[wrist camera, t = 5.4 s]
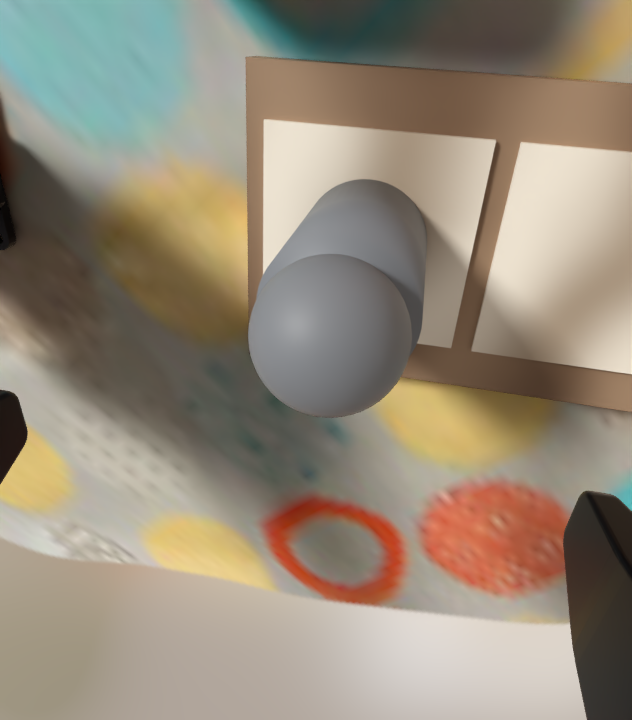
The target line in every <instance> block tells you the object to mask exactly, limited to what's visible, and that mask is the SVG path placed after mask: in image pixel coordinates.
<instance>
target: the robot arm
mask: <svg viewBox="0 0 632 720" xmlns="http://www.w3.org/2000/svg"><path fill="white" fill-rule="evenodd" d="M0 234H1V235H2V238H3V240H2V239H1V238H0V250H5V249H7V248H9V247H11V246H13V245H14V244H15V242H16V236H15V232H14V228H13V224H12V220H11V216H10V212H9V207H8V203H7V199H6V195H5V191H4V187H3V183H2V179H1V175H0ZM27 432H28V431H27V427H26V423H25V420H24V416H23V413H22V409H21V406H20V402H19V399H18V397H17V396H16V395H15V394H14V393H12V392H10V391H5V390H0V484H1V483H2V481H3V479H4V478H5V476H6V474H7V473H8V471H9V470H10V468H11V466H12V465H13V463H14V461H15V460H16V458H17V457H18V455H19V453H20V452H21V450H22V449H23V447H24V445H25V443H26V440H27ZM563 547H564V559H565V570H566V581H567V593H568V604H569V615H570V627H571V635H572V645H573V651H574V657H575V663H576V668H577V673H578V677H579V683H580V688H581V692H582V697H583V702H584V707H585V712H586V717H587V720H632V511H631V510H630V509H629V508H628V507H627V506H626V505H625V504H624V503H623V502H622V501H621V500H619V499H618V498H617V497H616V496H614V495H611V494H605V493H600V492H594V491H585V492H583V493H582V494H581V495H580V497H579V498H578V501H577V503H576V505H575V508H574V510H573V512H572V514H571V517H570V519H569V521H568V524H567V526H566V528H565V532H564V538H563Z"/></svg>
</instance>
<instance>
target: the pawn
mask: <svg viewBox="0 0 632 720" xmlns="http://www.w3.org/2000/svg"><path fill="white" fill-rule="evenodd" d="M426 256H427V231H426V226H425V223H424V219H423V217H422V215H421V213H420V211H419V209H418V208H417V206H416V205H415V203H414V202H413V201H412V200H411V199H410V198H409V197H408V196H407V195H406V194H405V193H404V192H402V191H401V190H399V189H398V188H396V187H394V186H392V185H390V184H388V183H385V182H382V181H378V180H372V179H359V180H352V181H348V182H344V183H342V184H339V185H337V186H335V187H334V188H332V189H330V190H329V191H328V192H326V193H325V194H324V195H323V196H322V197H321V198H320V199H319V200H318V201H317V202H316V204H315V205H314V206H313V208H312V209H311V210H310V212H309V213H308V214H307V216H306V217H305V218H304V220H303V221H302V222H301V224H300V225H299V226H298V228H297V229H296V230H295V232H294V233H293V234H292V235H291V237H290V238H289V239H288V241H287V242H286V243H285V245H284V246H283V247H282V249H281V250H280V251H279V253H278V254H277V255H276V257H275V258H274V259H273V261H272V262H271V263H270V265H269V266H268V267H267V269H266V271H265V272H264V274H263V276H262V278H261V281H260V284H259V287H258V291H257V297H256V302H255V304H254V307H253V310H252V313H251V317H250V322H249V329H248V341H249V351H250V355H251V359H252V362H253V364H254V367H255V370H256V372H257V374H258V376H259V377H260V379H261V380H262V382H263V383H264V385H265V386H266V387H267V388H268V390H269V391H270V392H271V393H272V394H273V395H274V396H275V397H276V398H277V399H279V400H280V401H281V402H283V403H284V404H285V405H287V406H289V407H291V408H292V409H294V410H297V411H299V412H301V413H305V414H308V415H312V416H316V417H325V418H334V417H343V416H348V415H352V414H355V413H358V412H361V411H363V410H365V409H367V408H369V407H371V406H373V405H374V404H376V403H377V402H379V401H380V400H381V399H382V398H384V397H385V396H386V395H387V394H388V393H389V392H390V391H391V390H392V388H393V387H394V386H395V385H396V384H397V382H398V380H399V379H400V377H401V375H402V374H403V372H404V370H405V367H406V365H407V362H408V358H409V356H410V355H411V353H412V352H413V350H414V348H415V347H416V344H417V342H418V340H419V337H420V333H421V329H422V320H423V305H424V288H425V272H426Z"/></svg>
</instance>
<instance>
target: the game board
mask: <svg viewBox="0 0 632 720" xmlns="http://www.w3.org/2000/svg"><path fill="white" fill-rule="evenodd" d="M246 124H247V211H248V298H249V322H250V317H251V313H252V310H253V307H254V304H255V302H256V297H257V291H258V287H259V284H260V281H261V278H262V276H263V274H264V272H265V271H266V269H267V267H268V266H269V265H270V263H271V262H272V261H273V259H274V258H275V257H276V255H277V254H278V253H279V251H280V250H281V249H282V247H283V246H284V245H285V243H286V242H287V241H288V239H289V238H290V237H291V235H292V234H293V233H294V232H295V230H296V229H297V228H298V226H299V225H300V224H301V222H302V221H303V220H304V218H305V217H306V216H307V214H308V213H309V212H310V210H311V209H312V208H313V206H314V205H315V204H316V202H317V201H318V200H319V199H320V198H321V197H322V196H323V195H324V194H325V193H326V192H328V191H329V190H330V189H332V188H334V187H335V186H337V185H339V184H342V183H344V182H348V181H352V180H359V179H372V180H378V181H382V182H385V183H388V184H390V185H392V186H394V187H396V188H398V189H399V190H401V191H402V192H404V193H405V194H406V195H407V196H408V197H409V198H410V199H411V200H412V201H413V202H414V203H415V205H416V206H417V208H418V209H419V211H420V213H421V215H422V217H423V219H424V223H425V226H426V231H427V256H426V272H425V288H424V305H423V320H422V329H421V333H420V337H419V340H418V342H417V344H416V347H415V348H414V350H413V352H412V353H411V355H410V356H409V358H408V362H407V365H406V367H405V370H404V372H403V374H402V375H401V377H405V378H412V379H419V380H425V381H432V382H438V383H445V384H451V385H458V386H464V387H471V388H477V389H484V390H491V391H497V392H504V393H510V394H517V395H523V396H530V397H536V398H543V399H550V400H556V401H563V402H569V403H576V404H582V405H589V406H595V407H602V408H608V409H615V410H622V411H628V412H632V84H630V83H617V82H603V81H589V80H575V79H562V78H548V77H534V76H521V75H507V74H493V73H479V72H466V71H452V70H438V69H425V68H411V67H397V66H383V65H370V64H356V63H342V62H329V61H315V60H301V59H288V58H274V57H260V56H252V57H246ZM249 354H250V351H249Z"/></svg>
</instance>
